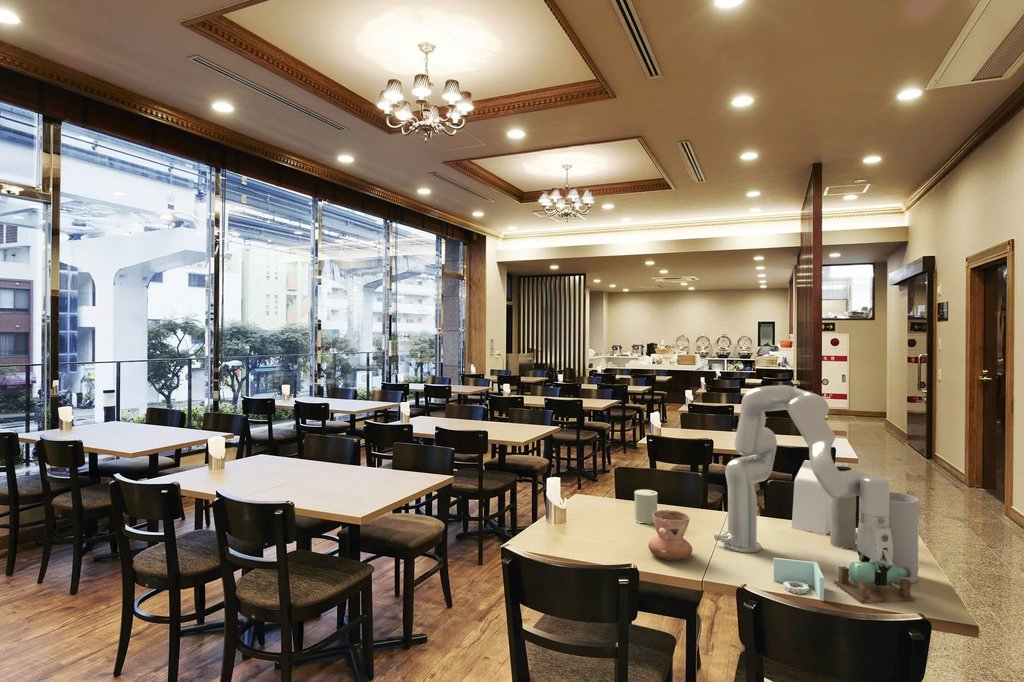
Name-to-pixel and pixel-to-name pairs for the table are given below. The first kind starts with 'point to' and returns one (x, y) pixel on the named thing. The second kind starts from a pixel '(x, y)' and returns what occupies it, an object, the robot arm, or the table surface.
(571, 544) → the table surface
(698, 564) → the table surface
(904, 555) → the cylinder vase
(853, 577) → the bottle
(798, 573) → the right angle wall
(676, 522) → the ceramic jug
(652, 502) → the can
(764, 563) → the table surface
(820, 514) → the milk
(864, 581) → the rest
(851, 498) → the thermos bottle
